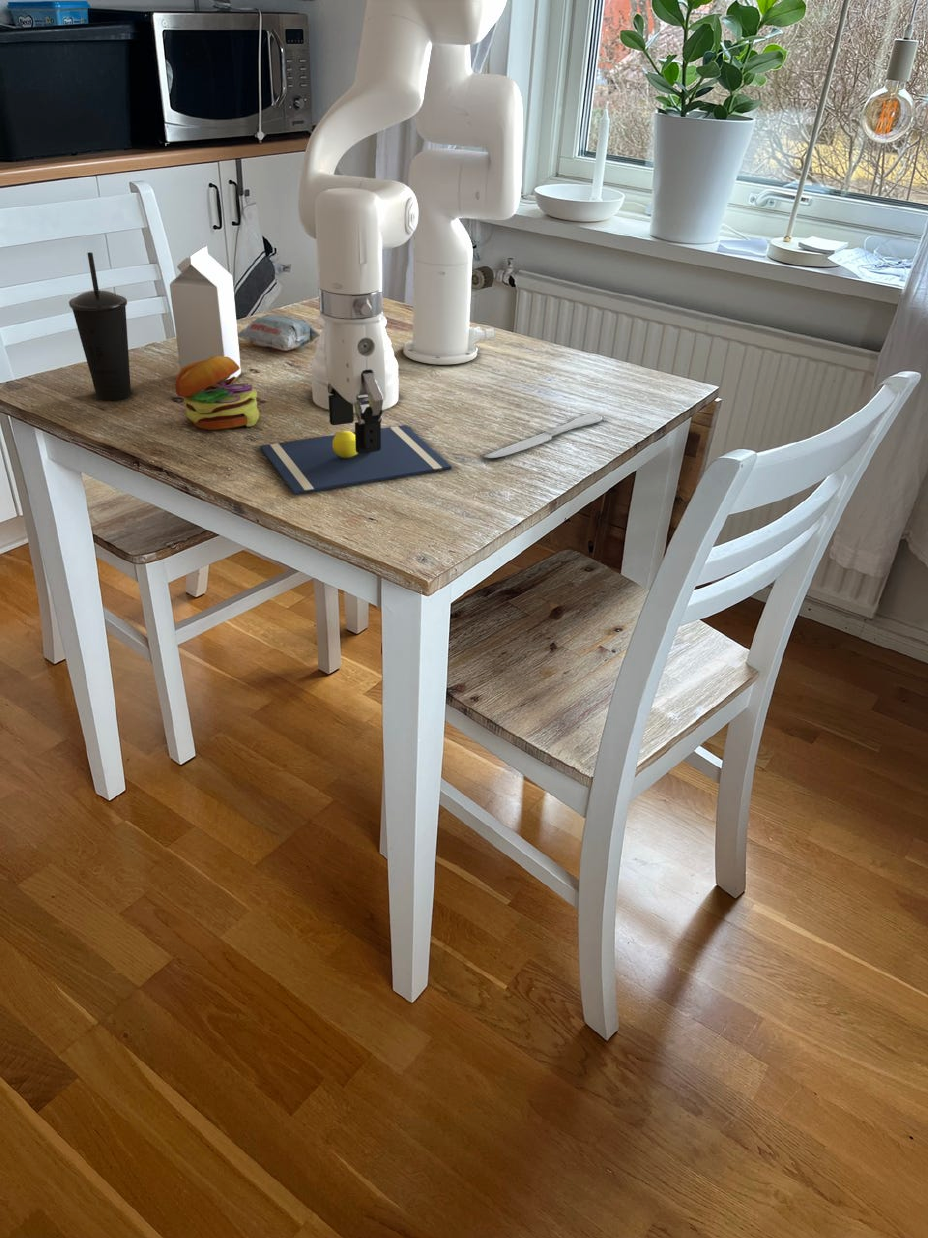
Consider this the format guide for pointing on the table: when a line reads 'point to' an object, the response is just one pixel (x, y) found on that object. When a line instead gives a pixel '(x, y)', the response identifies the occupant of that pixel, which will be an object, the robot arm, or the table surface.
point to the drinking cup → (104, 339)
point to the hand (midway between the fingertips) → (354, 436)
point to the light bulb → (344, 444)
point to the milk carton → (204, 311)
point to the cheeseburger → (216, 395)
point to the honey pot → (391, 399)
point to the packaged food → (279, 332)
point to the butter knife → (546, 435)
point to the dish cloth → (351, 461)
